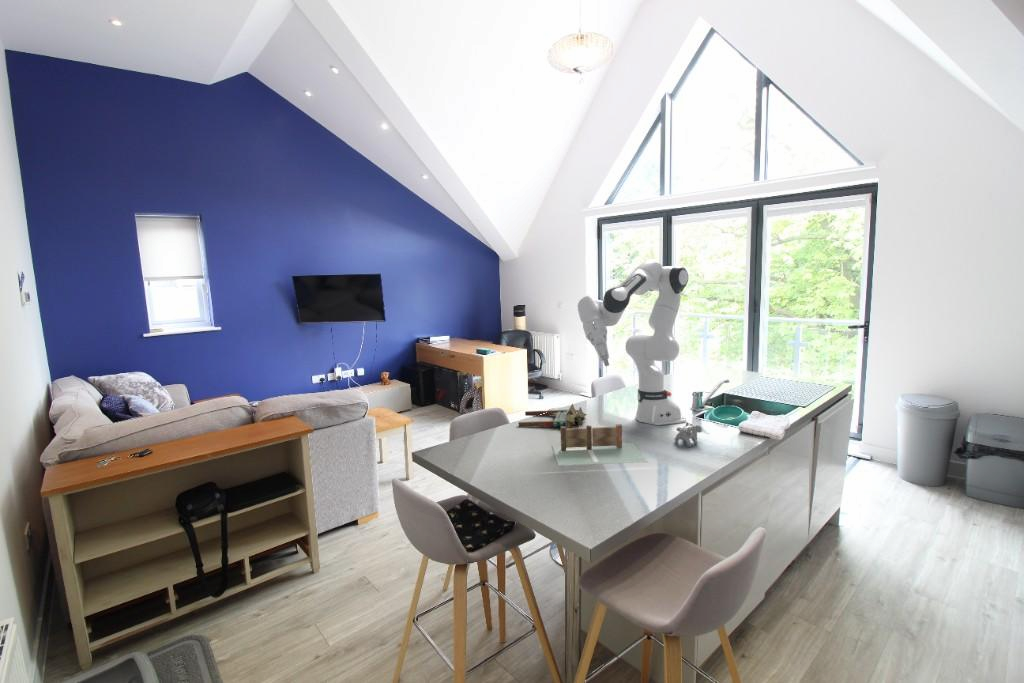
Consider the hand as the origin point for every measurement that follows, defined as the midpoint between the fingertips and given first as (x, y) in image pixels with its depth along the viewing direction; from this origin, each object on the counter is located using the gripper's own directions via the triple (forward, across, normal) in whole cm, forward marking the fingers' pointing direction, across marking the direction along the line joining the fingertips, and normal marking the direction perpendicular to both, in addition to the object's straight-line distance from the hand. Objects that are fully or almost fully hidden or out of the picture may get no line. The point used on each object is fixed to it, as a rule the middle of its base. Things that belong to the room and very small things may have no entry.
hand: (605, 360), depth 190 cm
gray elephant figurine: (+33, +27, -21) cm, 47 cm away
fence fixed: (+28, +9, +21) cm, 36 cm away
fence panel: (+30, +13, +10) cm, 34 cm away
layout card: (+32, +8, +14) cm, 36 cm away
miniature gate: (+5, +39, +32) cm, 50 cm away
